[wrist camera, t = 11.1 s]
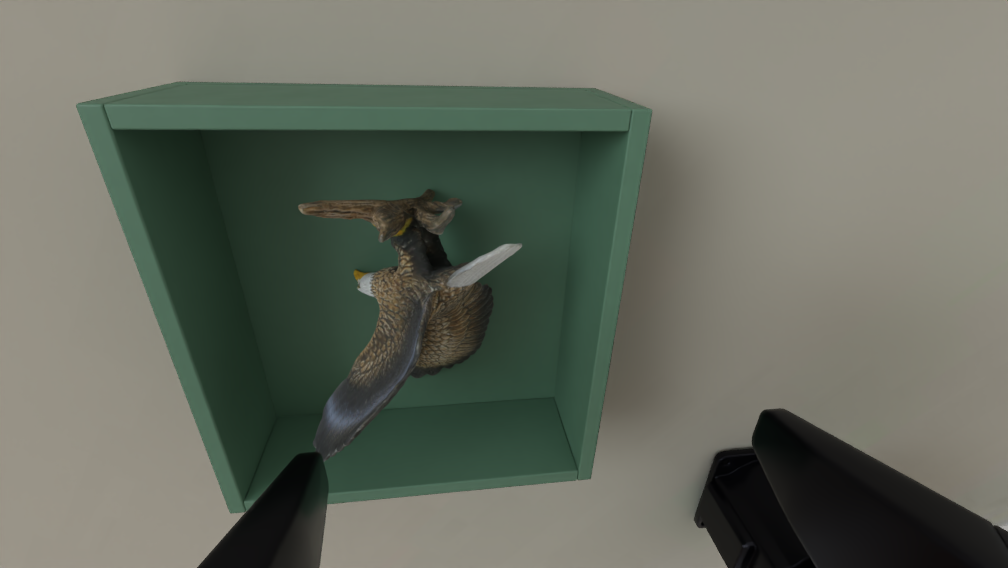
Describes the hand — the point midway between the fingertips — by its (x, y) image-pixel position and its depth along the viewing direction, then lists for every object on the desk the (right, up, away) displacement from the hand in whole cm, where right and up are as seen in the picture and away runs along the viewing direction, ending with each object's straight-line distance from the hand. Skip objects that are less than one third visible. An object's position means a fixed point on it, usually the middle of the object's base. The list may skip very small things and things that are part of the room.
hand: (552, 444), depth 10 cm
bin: (-5, +4, +10) cm, 12 cm away
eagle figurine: (-5, +3, +10) cm, 12 cm away
